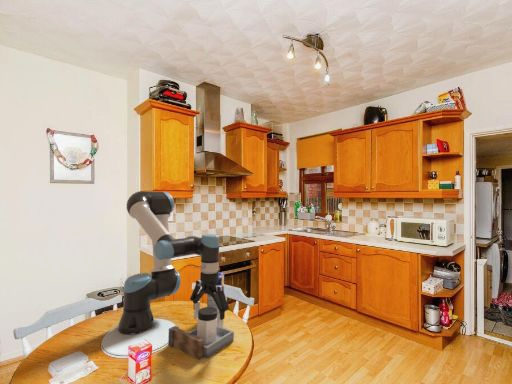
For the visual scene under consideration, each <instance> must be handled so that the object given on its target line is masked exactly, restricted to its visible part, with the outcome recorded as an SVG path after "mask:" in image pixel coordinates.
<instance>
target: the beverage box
mask: <svg viewBox="0 0 512 384" xmlns="http://www.w3.org/2000/svg"><path fill="white" fill-rule="evenodd" d="M217 285H218V286H221V285H223V290H224V291H225V272H224V271H223V272H221V271H218V281H217ZM214 294H215V293H214ZM206 301H207V303H206V304H207V305H206V307H214V308H216V309H217V313H218V311H219V309H218V307H217V305H216V303H215V301H214V299H213V297H211V295H208V294H207V300H206ZM221 308H222V307H221ZM217 321H218V315H217Z"/></svg>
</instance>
